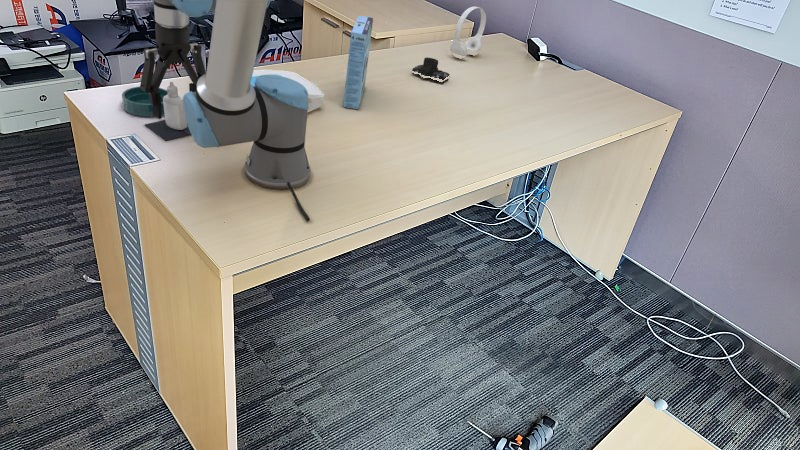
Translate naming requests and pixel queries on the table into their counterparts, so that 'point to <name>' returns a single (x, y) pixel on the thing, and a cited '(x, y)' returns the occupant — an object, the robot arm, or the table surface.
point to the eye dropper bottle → (174, 109)
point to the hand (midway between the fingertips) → (176, 112)
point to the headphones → (472, 42)
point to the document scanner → (313, 91)
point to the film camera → (430, 70)
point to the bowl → (140, 101)
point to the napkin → (167, 130)
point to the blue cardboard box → (357, 62)
